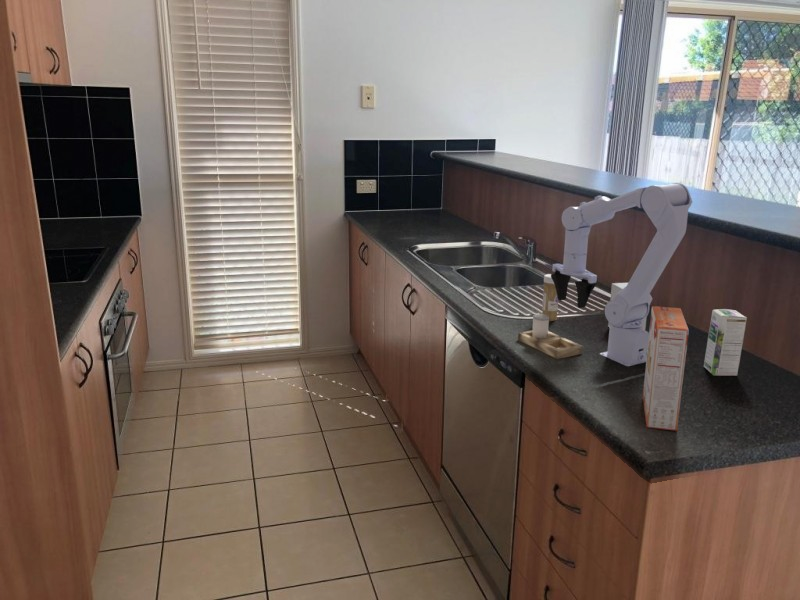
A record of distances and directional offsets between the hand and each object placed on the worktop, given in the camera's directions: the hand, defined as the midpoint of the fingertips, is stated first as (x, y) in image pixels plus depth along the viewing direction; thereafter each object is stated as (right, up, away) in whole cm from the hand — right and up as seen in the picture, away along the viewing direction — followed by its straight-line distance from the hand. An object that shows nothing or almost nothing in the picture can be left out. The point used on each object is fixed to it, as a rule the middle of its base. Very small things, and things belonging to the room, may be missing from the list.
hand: (571, 303), depth 173 cm
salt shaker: (-9, -10, -1) cm, 13 cm away
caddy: (-7, -12, -4) cm, 14 cm away
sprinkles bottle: (-2, -5, +18) cm, 19 cm away
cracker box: (+7, -22, -40) cm, 47 cm away
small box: (+18, -8, +10) cm, 22 cm away
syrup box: (+30, -16, -19) cm, 39 cm away
